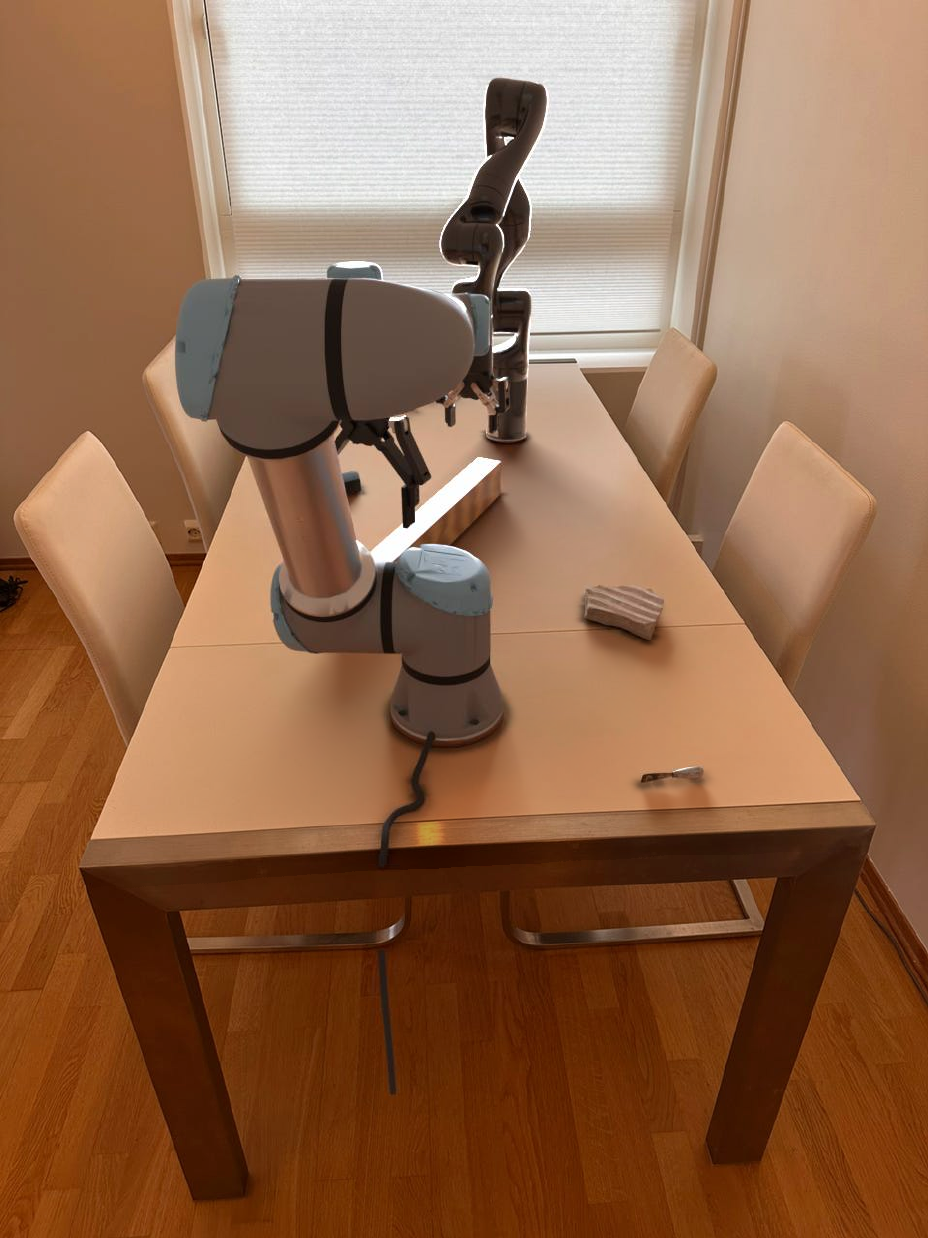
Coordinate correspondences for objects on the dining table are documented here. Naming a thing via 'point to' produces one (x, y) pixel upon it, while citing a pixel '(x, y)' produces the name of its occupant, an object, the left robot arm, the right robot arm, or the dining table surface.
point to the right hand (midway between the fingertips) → (472, 428)
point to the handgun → (352, 482)
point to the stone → (624, 608)
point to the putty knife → (674, 774)
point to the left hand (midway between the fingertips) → (369, 517)
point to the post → (446, 511)
